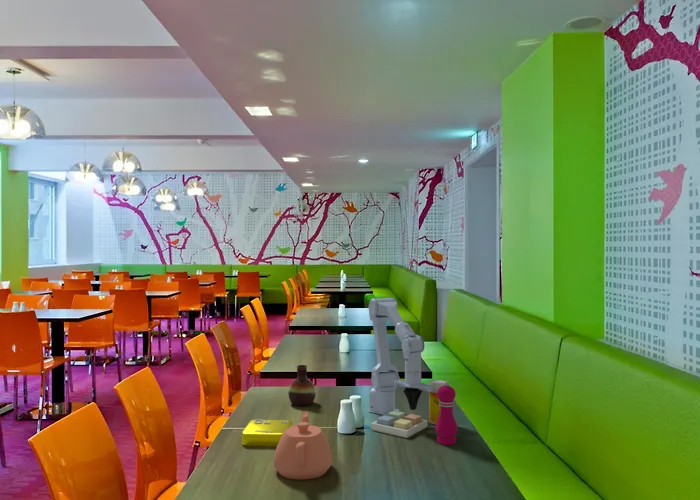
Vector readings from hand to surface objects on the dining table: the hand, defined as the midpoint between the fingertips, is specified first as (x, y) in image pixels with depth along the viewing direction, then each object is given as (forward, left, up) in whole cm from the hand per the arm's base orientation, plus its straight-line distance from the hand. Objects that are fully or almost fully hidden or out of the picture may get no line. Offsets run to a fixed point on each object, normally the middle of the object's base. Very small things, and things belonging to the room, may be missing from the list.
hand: (413, 409), depth 200 cm
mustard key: (0, -7, -5) cm, 8 cm away
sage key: (-7, 0, -5) cm, 8 cm away
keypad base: (-4, -3, -7) cm, 8 cm away
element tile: (-35, -38, -7) cm, 52 cm away
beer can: (+4, +10, -7) cm, 13 cm away
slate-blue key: (-7, -7, -5) cm, 11 cm away
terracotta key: (0, 0, -5) cm, 5 cm away
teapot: (-8, -50, -7) cm, 51 cm away
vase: (-52, 0, -7) cm, 52 cm away
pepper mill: (+16, -6, -7) cm, 18 cm away
